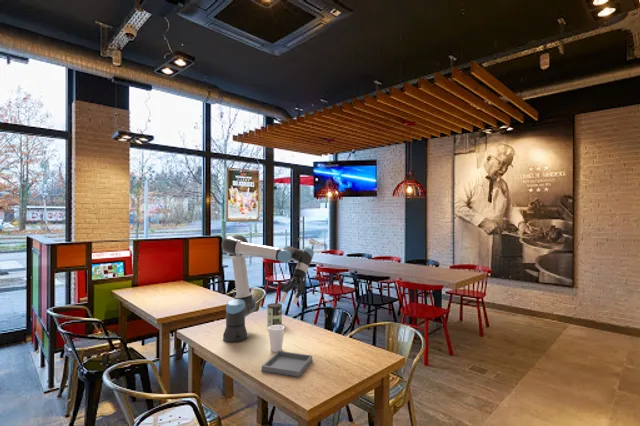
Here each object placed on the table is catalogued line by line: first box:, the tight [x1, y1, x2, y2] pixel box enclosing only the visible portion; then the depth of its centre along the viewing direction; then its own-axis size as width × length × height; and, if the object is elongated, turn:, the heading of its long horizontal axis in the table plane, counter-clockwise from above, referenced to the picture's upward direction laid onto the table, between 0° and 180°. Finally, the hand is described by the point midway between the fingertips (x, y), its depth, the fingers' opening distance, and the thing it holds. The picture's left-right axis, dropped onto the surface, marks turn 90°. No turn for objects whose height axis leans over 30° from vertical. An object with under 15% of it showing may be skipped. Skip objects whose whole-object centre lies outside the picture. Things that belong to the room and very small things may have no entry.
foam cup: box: [267, 325, 286, 353], centre depth 203 cm, size 10×9×13 cm
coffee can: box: [266, 302, 283, 327], centre depth 247 cm, size 10×10×14 cm
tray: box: [261, 350, 313, 379], centre depth 181 cm, size 20×20×3 cm
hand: (287, 302), depth 209 cm, fingers open, 13 cm apart
